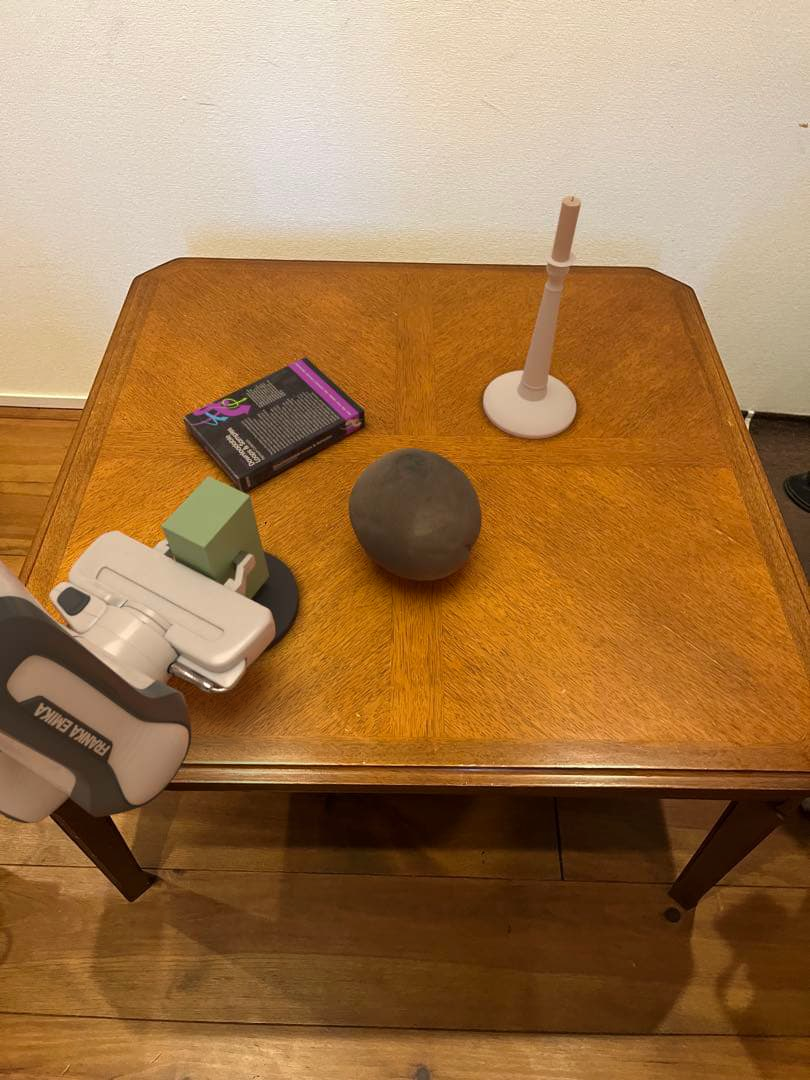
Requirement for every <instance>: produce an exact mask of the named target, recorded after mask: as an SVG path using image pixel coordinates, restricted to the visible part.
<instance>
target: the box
mask: <svg viewBox="0 0 810 1080" xmlns="http://www.w3.org/2000/svg"><path fill="white" fill-rule="evenodd" d="M365 411H366V410H365V408H363V406H362V405H359V403H357V402H356V401H355V400H354V399H353V398H352V397H351V396H350V395H348V394H347V393H346V392H345V391H344V390H343V389H342V388H341V387H340V386H338V385H337V384H336V383H335V381H333V380H332V379H331V378H330V377H328V375H326V374H325V373H324V372H323V371H322V370H321V369H320V368H319V367H317V366H316V365H315V363H313V362H312V361H311V360H310V359H309V358H308V357H307V356H304V357H302V358H300V359H299V360H297V361H296V360H295V361H294V362H292V363H290V364H288V365H286V366H284V367H282V368H280V369H278V370H276V371H274V372H272V373H270V374H267V375H265V376H264V377H261V378H259V379H258V380H256V381H253V382H251V383H249V384H246V385H245V386H243V387H241V388H239V389H237V390H235V391H232V392H231V393H229V394H226V395H224V396H222V397H220V398H218V399H217V400H214V401H212V402H211V403H208V404H206V405H204V406H202V407H200V408H198V409H196V410H194V411H192V412H190V413H188V414H186V415H184V416H183V417H182V420H183V422H184V425H185V427H186V430H187V432H188V434H189V435H190V436H191V437H192V438H193V439H194V440H195V441H196V442H197V443H198V445H199V446H200V447H201V448H202V449H203V450H204V451H205V453H206V454H207V455H208V456H209V458H211V460H212V461H213V462H214V463H215V465H217V466H218V468H220V470H221V471H222V472H223V474H225V475H226V477H227V478H228V479H229V480H230V482H231V483H232V484H233V485H234V486H235V487H236V489H237V490H239V491H241V492H243V493H246V492H247V491H249V490H251V489H252V488H255V487H256V486H259V485H260V484H262V483H263V482H265V481H267V480H269V479H271V478H272V477H274V476H276V475H278V474H279V473H281V472H283V471H285V470H287V469H289V468H291V467H292V466H294V465H296V464H298V463H300V462H302V461H303V460H305V459H307V458H308V457H310V456H312V455H314V454H315V453H318V452H319V451H321V450H323V449H325V448H326V447H328V446H330V445H332V444H334V443H335V442H337V441H339V440H341V439H343V438H344V437H346V436H348V435H350V434H352V433H353V432H355V431H358V430H359V429H361V428H362V427H365V425H366V415H365Z"/></svg>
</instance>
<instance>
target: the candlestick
mask: <svg viewBox="0 0 810 1080" xmlns="http://www.w3.org/2000/svg"><path fill="white" fill-rule="evenodd" d="M560 206H561V207H560V211H559V216H558V220H557V227H556V230H555V236H554V241H553V247H552V248H551V249H548V250H547V251H546V252H545V253H544V256H543V258H544V260H545V262H546V263H547V264H546V266H545V270H546V273H547V276H548V280H547V281H545V284H544V289H543V294H542V297H541V302H540V305H539V310H538V313H537V316H536V321H535V325H534V329H533V333H532V336H531V341H530V345H529V348H528V352H527V356H526V360H525V364H524V367H523V369H522V370H521V369H520V370H513V371H509V372H506V373H503V374H501V375H499V376H497V377H495V378H494V379H493V380H492V381H491V382H490V383H489V384H488V385H487V387H486V388H485V391H484V393H483V398H482V407H483V411H484V413H485V416H486V418H487V419H488V420H489V421H490V422H491V423H492V424H493V425H494V426H495V427H496V428H498V429H499V430H500V431H503V432H504V433H506V434H509V435H511V436H514V437H518V438H522V439H530V440H541V439H546V438H551V437H554V436H556V435H559V434H561V433H563V432H564V431H566V429H568V428H569V427H570V426H571V425H572V423H573V421H574V419H575V417H576V413H577V402H576V398H575V395H574V394H573V392H572V391H571V389H570V388H569V387H568V386H567V385H566V384H565V383H564V382H562V381H561V380H560V379H558V378H556V377H554V376H553V375H550V367H551V360H552V354H553V348H554V343H555V342H554V341H555V335H556V331H557V324H558V317H559V310H560V305H561V300H562V299H561V298H562V291H563V289H564V284H563V280H564V278H565V276H567V275H568V274H569V272H570V266H573V265H574V264H575V263H576V261H577V257H576V255H575V254H574V253H573V252H572V251H571V250H572V248H573V247H572V245H573V241H574V236H575V232H576V229H577V225H578V224H577V223H578V219H579V214H580V210H581V206H582V200H581V199H580V198H578V197H576V196H573V195H568V196H565V197H563V199H562V201H561V205H560Z"/></svg>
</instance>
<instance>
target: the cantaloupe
mask: <svg viewBox="0 0 810 1080" xmlns="http://www.w3.org/2000/svg"><path fill="white" fill-rule="evenodd" d="M348 516H349V523H350V525H351V528H352V530H353V533H354V535H355V537H356V539H357V541H358V543H359V545H360V546H361V548H362V550H363V551H364V553H366V555H367V556H368V557H369V558H370V559H371V560H372V561H373V562H374V563H376V564H377V565H378V566H380V567H381V568H383V569H384V570H386V571H388V572H389V573H390V574H391V573H392V574H394V575H396V576H399V577H401V578H405V579H409V580H412V581H436V580H440V579H444V578H446V577H448V576H451V575H453V574H454V573H455V572H457V571H458V570H459V569H461V568H462V567H463V566H464V565H465V564H466V562H467V561H468V559H469V558H470V552H471V550H472V549H473V547H474V546H475V544H476V543H477V541H478V540H479V537H480V533H481V528H482V520H483V519H482V517H483V515H482V508H481V503H480V500H479V496H478V494H477V492H476V490H475V487H474V485H473V484H472V481H471V480H470V478H469V477H468V476H467V475H466V473H465V472H464V471H463V470H462V469H461V468H459V467H458V466H457V465H456V464H454V463H453V462H452V461H450V459H447V458H446V457H445V456H442V455H441V454H439V453H437V452H434V451H430V450H426V449H422V448H416V447H415V448H413V447H411V448H400V449H396V450H393V451H391V452H388V453H386V454H384V455H383V456H381V457H379V458H377V459H376V460H375V461H373V462H371V464H369V465H368V466H367V467H366V468H365V469H364V470H363V471H362V472H361V473H360V475H359V476H358V478H357V479H356V481H355V483H354V484H353V487H352V490H351V492H350V494H349V499H348Z"/></svg>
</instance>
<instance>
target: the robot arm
mask: <svg viewBox="0 0 810 1080" xmlns="http://www.w3.org/2000/svg"><path fill="white" fill-rule="evenodd" d="M232 564H233V566H234V567H233V568H234V571H235V572H236V576H235V581H234V580H233V579H231V578H230V579H228V580H227V582H226V583H225V584H224V585H222V584H220V583H218V582H216V581H214V580H212V579H210V578H208V577H206V576H204V575H202V574H200V573H198V572H196V571H194V570H193V569H191V568H189V567H187V566H185V565H183V564H181V563H179V562H177V561H176V560H175V558H174V556H173V553H172V551H171V549H170V546H169V544H168V541H167V539H166V538H165V539H163V540H160V541H159V542H158V543H157V544H156V545H155V546H154V547H153V548H152V547H150V546H148V545H146V544H144V543H142V542H141V541H138V540H137V539H135V538H132V537H131V536H128V535H127V534H125V533H123V532H121V531H120V530H112V531H108V532H105V533H102V534H100V535H99V536H98V537H97V538H96V539H94V541H93V542H92V543H91V544H90V545H89V546H88V547H87V548H86V549H85V550H84V551H83V552H82V553H81V555H79V557H78V558H77V559H76V560H75V562H74V563H73V564H72V566H71V568H70V569H69V571H68V574H67V580H68V581H61V582H60V583H58V584H57V585H55V586H54V587H53V588H52V589H51V591H50V592H49V594H48V598H49V600H50V602H51V603H52V605H53V607H54V609H55V610H56V612H57V613H58V615H59V616H60V617H61V619H62V620H63V621H64V623H65V624H66V625H64V624H63V623H60V622H59V621H57V620H55V618H54V617H53V616H52V615H51V614H50V613H49V612H48V611H47V610H46V609H45V608H44V606H43V605H42V604H41V603H40V602H39V601H38V599H36V597H35V596H34V595H33V594H32V593H31V591H29V590H28V588H27V587H26V586H25V585H24V584H23V583H22V581H21V580H19V578H18V577H17V576H16V575H15V574H14V573H13V571H11V569H10V568H8V566H7V565H6V564H5V563H4V562H3V561H2V560H1V559H0V815H2V816H3V817H4V818H6V819H8V820H11V821H14V822H17V823H21V824H38V823H40V822H42V821H44V820H45V819H46V818H48V817H49V816H50V815H52V814H53V813H54V812H56V810H57V809H59V807H60V806H62V805H63V804H64V803H65V802H66V801H67V800H68V799H70V800H71V801H73V802H74V803H75V804H77V806H79V807H81V808H82V809H83V810H84V811H86V813H88V814H90V816H92V817H94V818H102V817H109V816H114V815H119V814H123V813H126V812H130V811H134V810H137V809H139V808H142V807H144V806H146V805H148V804H149V803H152V801H154V800H155V799H156V798H157V797H158V796H159V795H161V794H162V793H163V792H164V791H165V789H166V788H168V786H169V785H170V784H171V783H172V781H173V780H174V778H175V777H177V774H178V773H179V771H180V769H181V768H182V766H183V765H184V762H185V760H186V758H187V756H188V753H189V750H190V747H191V742H192V725H191V718H190V713H189V708H188V705H187V702H186V698H185V695H184V694H183V692H181V691H179V690H178V689H175V688H174V687H172V686H170V685H168V684H167V683H168V681H170V679H171V678H172V677H173V676H174V677H176V678H178V679H179V680H182V681H183V682H186V683H188V684H190V685H192V686H194V687H196V688H197V690H198V691H200V692H202V693H205V694H207V695H211V694H213V693H216V694H222V693H226V692H229V691H232V690H233V689H234V688H236V686H237V685H238V683H239V682H240V680H242V678H243V677H244V675H245V674H246V671H247V669H248V668H249V667H250V665H251V664H252V663H253V662H255V661H256V659H257V658H258V657H260V655H261V654H263V653H264V652H263V651H264V650H265V648H266V647H267V646H268V645H269V644H270V642H271V641H272V640H273V638H274V637H275V623H274V619H273V616H272V613H271V611H270V610H269V609H268V608H266V607H264V606H262V605H260V604H258V603H256V602H254V601H252V600H251V599H249V598H247V597H245V589H246V581H247V575H248V574H249V573H250V571H251V570H252V569H253V568H254V566H255V564H256V561H255V557H254V556H253V555H251V554H249V553H247V552H245V551H243V550H241V551H240V552H239V553H238V555H237V556H235V558H234V559H233V560H232ZM262 652H263V653H262ZM216 686H217V687H216Z"/></svg>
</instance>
